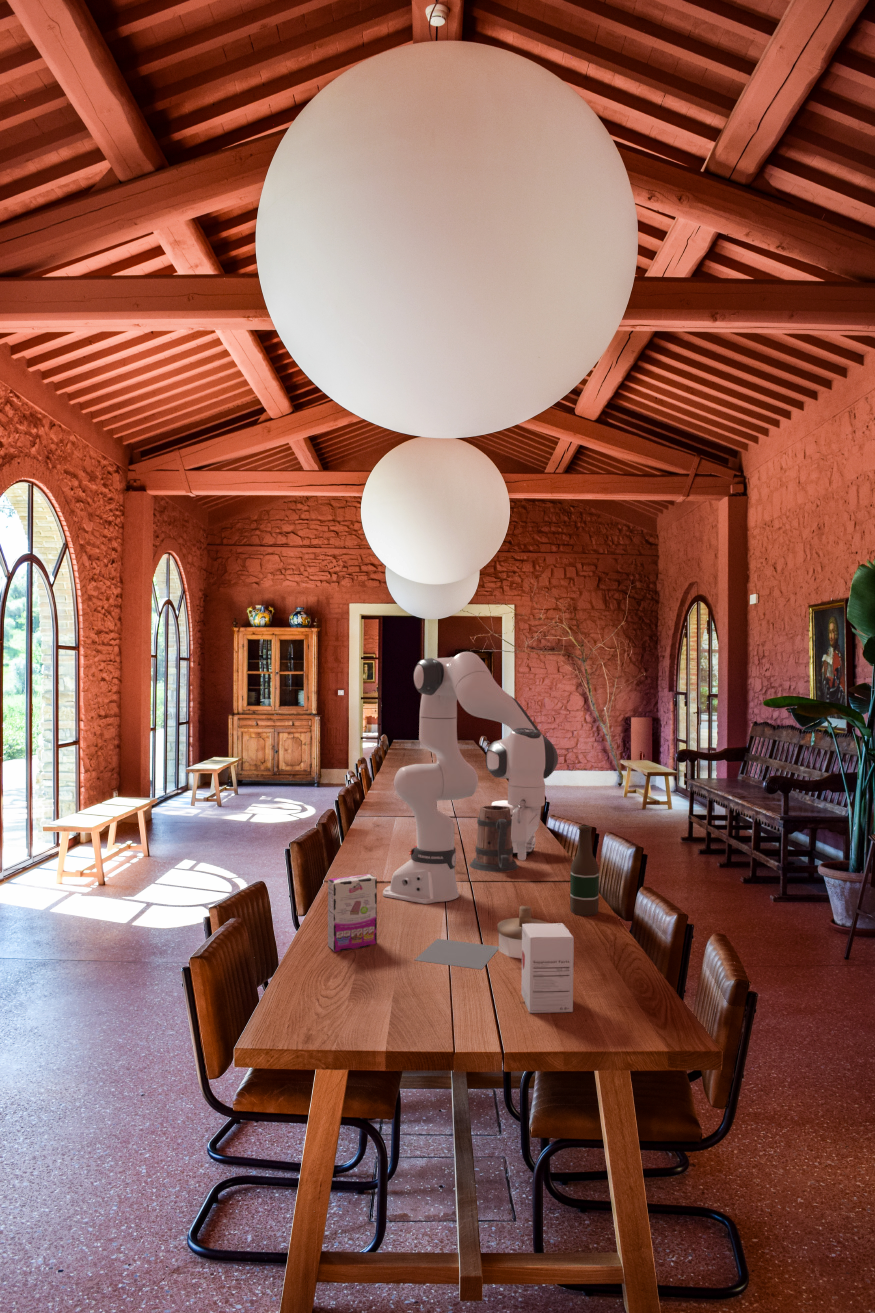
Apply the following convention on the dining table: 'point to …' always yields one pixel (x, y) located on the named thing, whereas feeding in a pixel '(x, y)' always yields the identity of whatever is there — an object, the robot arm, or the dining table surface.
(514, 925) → the lid
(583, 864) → the beer bottle
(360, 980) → the dining table surface
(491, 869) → the tankard
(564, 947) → the supplement box
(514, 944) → the bowl
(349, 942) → the candy bar box
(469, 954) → the mat
